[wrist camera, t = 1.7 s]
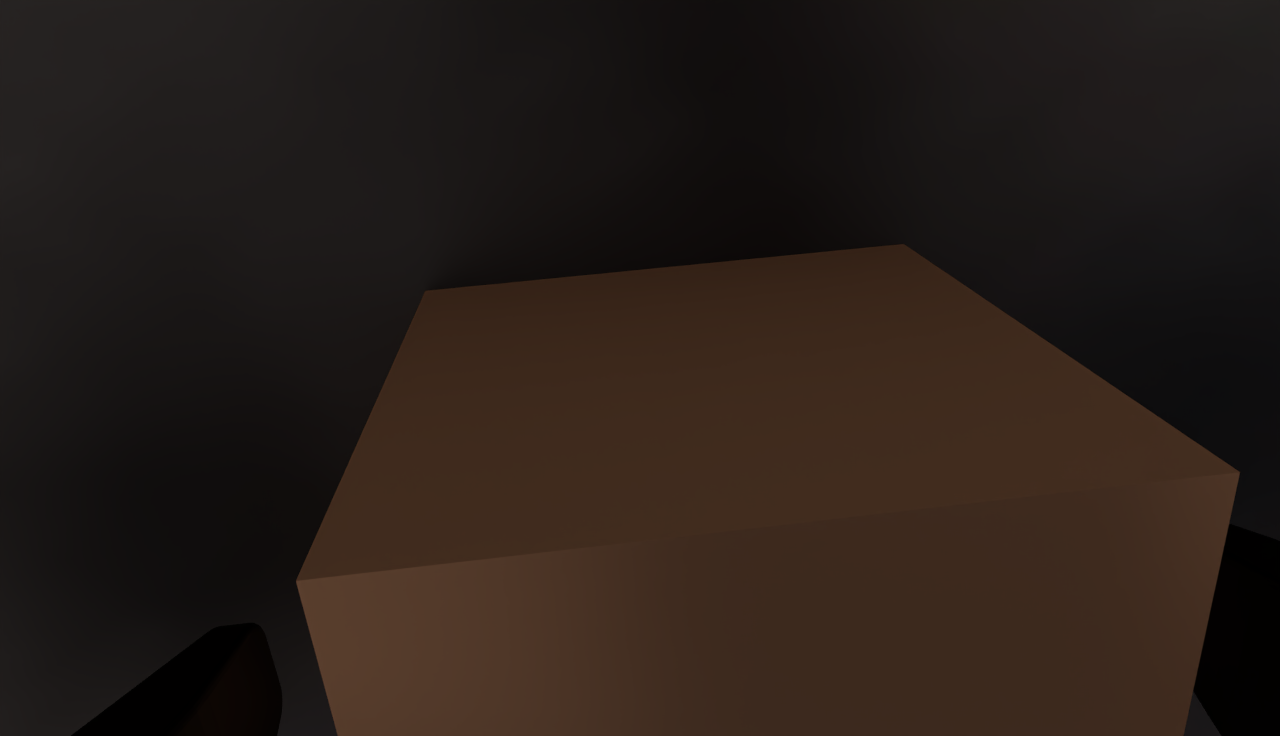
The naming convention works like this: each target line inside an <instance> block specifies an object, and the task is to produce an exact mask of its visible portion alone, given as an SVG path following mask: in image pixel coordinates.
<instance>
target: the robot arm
mask: <svg viewBox="0 0 1280 736" xmlns="http://www.w3.org/2000/svg"><path fill="white" fill-rule="evenodd" d="M1193 691H1194V693H1195V694H1196V696H1197V698H1198V699H1199V701H1200V703H1201V704H1202V706H1203V708H1204V709H1205V711H1206V712H1207V714H1208V716H1209V717H1210V719H1211V720H1212V722H1213V723H1214V725H1215V726H1216V728H1217V729H1218V731H1219V732H1220V734H1221V736H1280V541H1279V540H1276V539H1273V538H1270V537H1267V536H1264V535H1261V534H1258V533H1255V532H1252V531H1249V530H1246V529H1243V528H1240V527H1237V526H1235V525H1232V524H1229V526H1228V531H1227V535H1226V540H1225V545H1224V549H1223V554H1222V559H1221V563H1220V568H1219V573H1218V577H1217V582H1216V587H1215V591H1214V596H1213V601H1212V605H1211V610H1210V614H1209V619H1208V624H1207V628H1206V633H1205V638H1204V642H1203V647H1202V652H1201V656H1200V661H1199V666H1198V670H1197V675H1196V680H1195V684H1194V689H1193ZM281 713H282V691H281V686H280V683H279V679H278V676H277V672H276V669H275V666H274V662H273V659H272V656H271V652H270V649H269V645H268V642H267V639H266V636H265V633H264V631H263V630H262V628H261V627H260V626H259V625H257V624H255V623H244V624H236V625H227V626H219V627H216V628H213V629H211V630H210V631H209V632H207V633H206V634H204V635H203V636H202V637H201V638H199V639H198V640H197V641H195V642H194V643H193V644H191V645H190V646H189V647H187V648H186V649H185V650H183V651H182V652H181V653H179V654H178V655H177V656H175V657H174V658H173V659H172V660H170V661H169V662H168V663H166V664H165V665H164V666H162V667H161V668H160V669H158V670H157V671H156V672H154V673H153V674H152V675H150V676H149V677H148V678H146V679H145V680H144V681H143V682H141V683H140V684H139V685H137V686H136V687H135V688H133V689H132V690H131V691H129V692H128V693H127V694H125V695H124V696H123V697H121V698H120V699H119V700H117V701H116V702H115V703H113V704H112V705H111V706H110V707H108V708H107V709H106V710H104V711H103V712H102V713H100V714H99V715H98V716H96V717H95V718H94V719H92V720H91V721H90V722H88V723H87V724H86V725H84V726H83V727H82V728H80V729H79V730H78V731H77V732H75V733H74V734H73V735H71V736H277V734H278V729H279V724H280V718H281Z"/></svg>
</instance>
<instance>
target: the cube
mask: <svg viewBox="0 0 1280 736" xmlns="http://www.w3.org/2000/svg"><path fill="white" fill-rule="evenodd" d="M1239 475H1240V472H1239V471H1238V470H1236V469H1235V468H1233V467H1232V466H1230V465H1229V464H1227V463H1226V462H1224V461H1223V460H1221V459H1220V458H1218V457H1217V456H1215V455H1214V454H1212V453H1211V452H1210V451H1208V450H1207V449H1205V448H1204V447H1202V446H1201V445H1199V444H1198V443H1196V442H1195V441H1193V440H1192V439H1190V438H1189V437H1187V436H1186V435H1184V434H1183V433H1182V432H1180V431H1179V430H1177V429H1176V428H1174V427H1173V426H1171V425H1170V424H1168V423H1167V422H1165V421H1164V420H1162V419H1161V418H1159V417H1158V416H1156V415H1155V414H1154V413H1152V412H1151V411H1149V410H1148V409H1146V408H1145V407H1143V406H1142V405H1140V404H1139V403H1137V402H1136V401H1134V400H1133V399H1131V398H1130V397H1128V396H1127V395H1126V394H1124V393H1123V392H1121V391H1120V390H1118V389H1117V388H1115V387H1114V386H1112V385H1111V384H1109V383H1108V382H1106V381H1105V380H1103V379H1102V378H1100V377H1099V376H1098V375H1096V374H1095V373H1093V372H1092V371H1090V370H1089V369H1087V368H1086V367H1084V366H1083V365H1081V364H1080V363H1078V362H1077V361H1075V360H1074V359H1072V358H1071V357H1070V356H1068V355H1067V354H1065V353H1064V352H1062V351H1061V350H1059V349H1058V348H1056V347H1055V346H1053V345H1052V344H1050V343H1049V342H1047V341H1046V340H1044V339H1043V338H1042V337H1040V336H1039V335H1037V334H1036V333H1034V332H1033V331H1031V330H1030V329H1028V328H1027V327H1025V326H1024V325H1022V324H1021V323H1019V322H1018V321H1016V320H1015V319H1014V318H1012V317H1011V316H1009V315H1008V314H1006V313H1005V312H1003V311H1002V310H1000V309H999V308H997V307H996V306H994V305H993V304H991V303H990V302H988V301H987V300H986V299H984V298H983V297H981V296H980V295H978V294H977V293H975V292H974V291H972V290H971V289H969V288H968V287H966V286H965V285H963V284H962V283H960V282H959V281H958V280H956V279H955V278H953V277H952V276H950V275H949V274H947V273H946V272H944V271H943V270H941V269H940V268H938V267H937V266H935V265H934V264H932V263H931V262H930V261H928V260H927V259H925V258H924V257H922V256H921V255H919V254H918V253H916V252H915V251H913V250H912V249H910V248H909V247H907V246H906V245H904V244H898V245H888V246H878V247H868V248H858V249H847V250H837V251H827V252H817V253H807V254H796V255H786V256H776V257H766V258H755V259H745V260H735V261H725V262H715V263H704V264H694V265H684V266H674V267H664V268H653V269H643V270H633V271H623V272H612V273H602V274H592V275H582V276H572V277H561V278H551V279H541V280H531V281H521V282H510V283H500V284H490V285H480V286H470V287H459V288H449V289H439V290H429V291H425V293H424V295H423V297H422V299H421V302H420V304H419V306H418V308H417V311H416V313H415V315H414V317H413V320H412V322H411V324H410V326H409V329H408V331H407V333H406V335H405V338H404V340H403V342H402V344H401V347H400V349H399V351H398V353H397V355H396V358H395V360H394V362H393V364H392V367H391V369H390V371H389V373H388V376H387V378H386V380H385V382H384V385H383V387H382V389H381V391H380V394H379V396H378V398H377V400H376V403H375V405H374V407H373V409H372V411H371V414H370V416H369V418H368V420H367V423H366V425H365V427H364V429H363V432H362V434H361V436H360V438H359V441H358V443H357V445H356V447H355V450H354V452H353V454H352V456H351V459H350V461H349V463H348V465H347V467H346V470H345V472H344V474H343V476H342V479H341V481H340V483H339V485H338V488H337V490H336V492H335V494H334V497H333V499H332V501H331V503H330V506H329V508H328V510H327V512H326V515H325V517H324V519H323V521H322V524H321V526H320V528H319V530H318V532H317V535H316V537H315V539H314V541H313V544H312V546H311V548H310V550H309V553H308V555H307V557H306V559H305V562H304V564H303V566H302V568H301V571H300V573H299V575H298V577H297V580H296V583H297V587H298V591H299V594H300V598H301V602H302V605H303V609H304V613H305V617H306V620H307V624H308V628H309V631H310V635H311V639H312V642H313V646H314V650H315V653H316V657H317V661H318V664H319V668H320V672H321V675H322V679H323V683H324V687H325V690H326V694H327V698H328V701H329V705H330V709H331V712H332V716H333V720H334V723H335V727H336V731H337V734H338V736H1183V735H1184V731H1185V726H1186V721H1187V717H1188V712H1189V707H1190V703H1191V698H1192V694H1193V689H1194V684H1195V680H1196V675H1197V670H1198V666H1199V661H1200V656H1201V652H1202V647H1203V642H1204V638H1205V633H1206V628H1207V624H1208V619H1209V614H1210V610H1211V605H1212V601H1213V596H1214V591H1215V587H1216V582H1217V577H1218V573H1219V568H1220V563H1221V559H1222V554H1223V549H1224V545H1225V540H1226V535H1227V531H1228V526H1229V521H1230V517H1231V512H1232V507H1233V503H1234V498H1235V494H1236V489H1237V484H1238V480H1239Z"/></svg>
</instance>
